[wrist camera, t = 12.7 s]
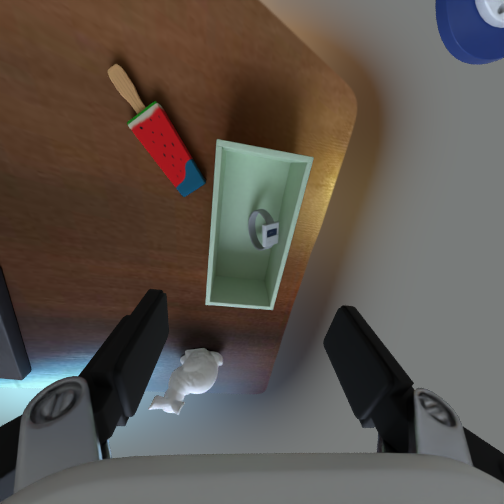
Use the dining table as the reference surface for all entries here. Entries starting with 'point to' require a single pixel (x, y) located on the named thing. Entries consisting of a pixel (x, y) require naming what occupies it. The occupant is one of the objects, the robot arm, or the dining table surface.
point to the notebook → (10, 340)
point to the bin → (237, 216)
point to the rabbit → (189, 379)
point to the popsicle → (159, 136)
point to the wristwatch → (263, 230)
